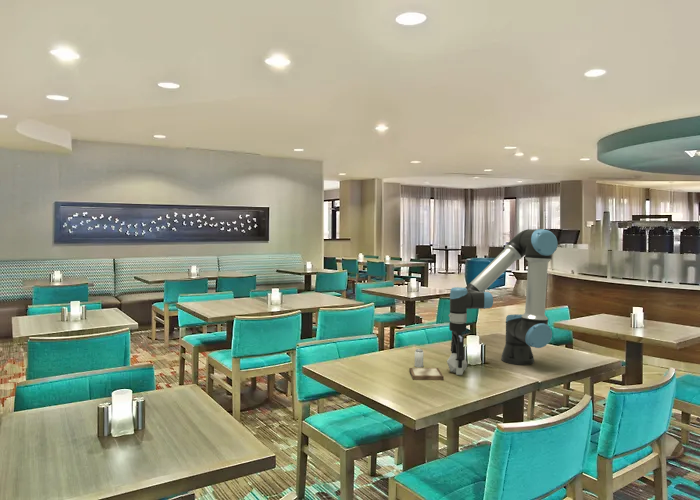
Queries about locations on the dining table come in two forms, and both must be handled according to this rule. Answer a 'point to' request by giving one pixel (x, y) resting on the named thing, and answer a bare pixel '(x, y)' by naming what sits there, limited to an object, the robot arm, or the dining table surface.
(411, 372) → the board
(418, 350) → the shaker
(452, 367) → the die
